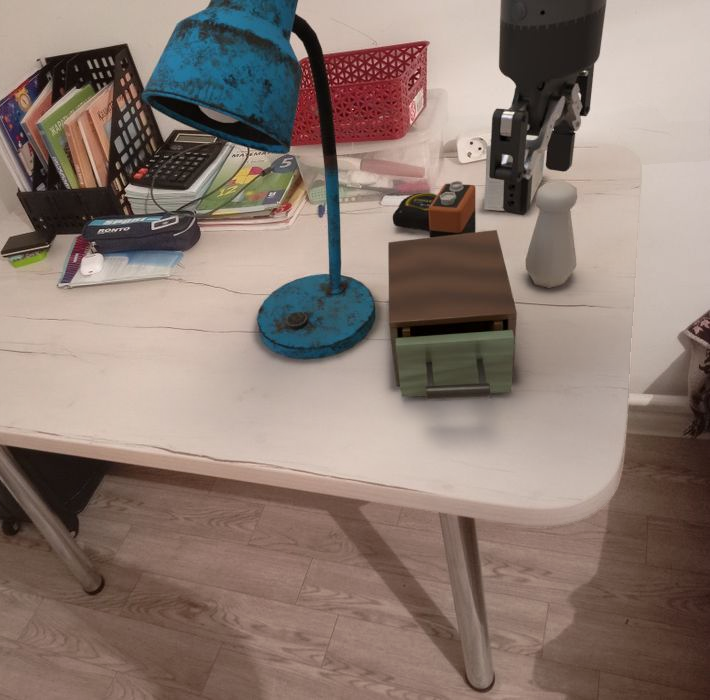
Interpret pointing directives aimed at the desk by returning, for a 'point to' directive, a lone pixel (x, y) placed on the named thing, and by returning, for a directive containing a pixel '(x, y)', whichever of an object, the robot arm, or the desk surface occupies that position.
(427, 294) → the cabinet
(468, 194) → the battery
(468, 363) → the drawer
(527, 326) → the desk surface
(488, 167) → the cosmetics box
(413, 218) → the tape measure
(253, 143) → the desk lamp
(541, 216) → the salt shaker
